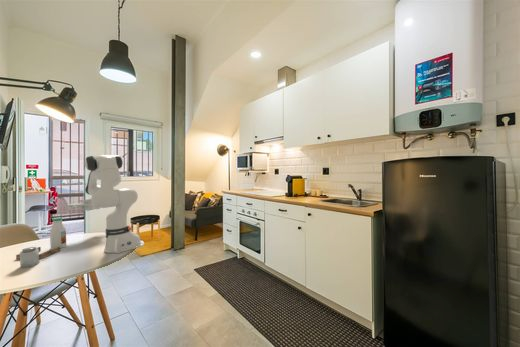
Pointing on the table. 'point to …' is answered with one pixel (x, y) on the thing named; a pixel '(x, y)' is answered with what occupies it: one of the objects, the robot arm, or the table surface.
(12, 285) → the table surface
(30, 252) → the grey jar
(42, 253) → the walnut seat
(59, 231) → the milk bottle
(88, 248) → the table surface
